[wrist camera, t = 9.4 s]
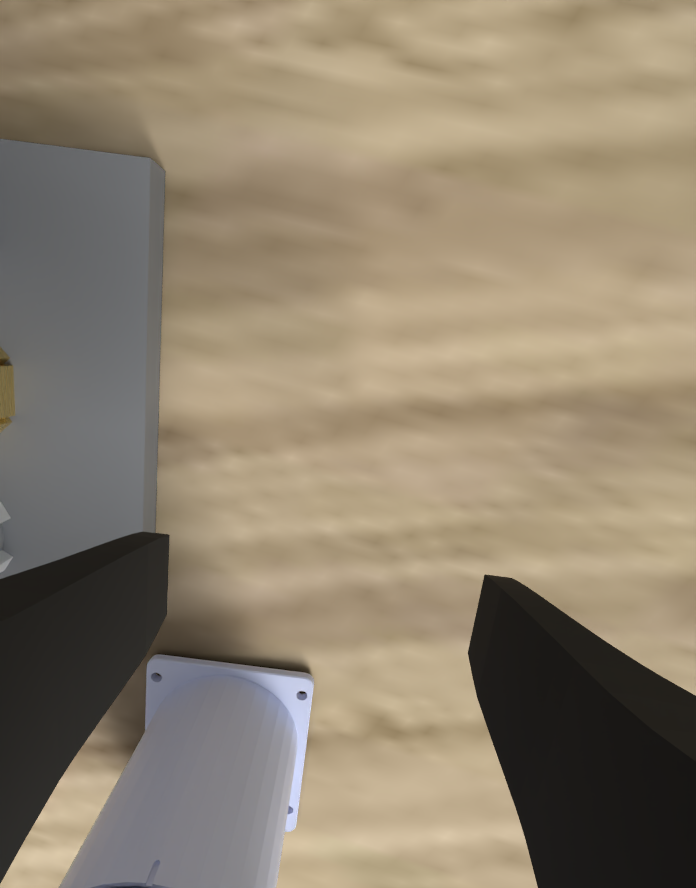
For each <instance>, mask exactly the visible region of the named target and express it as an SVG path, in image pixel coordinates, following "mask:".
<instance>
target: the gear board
mask: <svg viewBox="0 0 696 888" xmlns="http://www.w3.org/2000/svg"><path fill="white" fill-rule="evenodd" d="M164 198H165V171H164V170H163V169H162V168H161V167H160V166H159V165H158V164H157V163H156V162H154V161H153V160H152V159H151V158H147V157H139V156H131V155H123V154H115V153H108V152H100V151H92V150H84V149H77V148H69V147H61V146H53V145H45V144H38V143H30V142H22V141H14V140H7V139H0V347H1V348H2V350H3V351H4V352H5V353H6V354H7V355H8V356H9V357H10V359H8V360H7V361H6V362H5V363H4V364H6V365H13V371H14V398H15V416H10V417H9V418H10V419H11V421H12V423H11V424H10V425H8V426H7V427H6V428H5V429H4V430H3V431H2V432H0V579H2V578H5V577H8V576H11V575H14V574H17V573H20V572H23V571H26V570H29V569H32V568H35V567H38V566H41V565H44V564H47V563H50V562H53V561H56V560H59V559H62V558H65V557H67V556H70V555H73V554H76V553H78V552H81V551H84V550H87V549H90V548H92V547H95V546H98V545H101V544H103V543H106V542H109V541H112V540H115V539H118V538H121V537H124V536H127V535H130V534H134V533H138V532H151V533H155V528H156V491H157V455H158V418H159V381H160V345H161V308H162V271H163V234H164Z"/></svg>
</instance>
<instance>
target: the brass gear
mask: <svg viewBox="0 0 696 888" xmlns="http://www.w3.org/2000/svg"><path fill="white" fill-rule="evenodd" d="M8 359H10V357H9V356H8V355H7V354H6V353H5V352H4V351H3V350H2V348H1V347H0V432H2V431H3V430H4V429H5V428H6V427H7V426H8V425H10V424H11V423H12V421H11V419H10V418H9V417H10V416H15V398H14V371H13V365H6V364H4V363H5V362H6V361H7V360H8Z"/></svg>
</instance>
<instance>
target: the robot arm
mask: <svg viewBox="0 0 696 888" xmlns="http://www.w3.org/2000/svg"><path fill="white" fill-rule="evenodd" d="M168 560H169V535H167V534H159V533H151V532H138V533H134V534H130V535H127V536H124V537H121V538H118V539H115V540H112V541H109V542H106V543H103V544H101V545H98V546H95V547H92V548H90V549H87V550H84V551H81V552H78V553H76V554H73V555H70V556H67V557H65V558H62V559H59V560H56V561H53V562H50V563H47V564H44V565H41V566H38V567H35V568H32V569H29V570H26V571H23V572H20V573H17V574H14V575H11V576H8V577H5V578H2V579H0V883H1V881H2V880H3V878H4V876H5V874H6V872H7V871H8V869H9V867H10V865H11V863H12V862H13V860H14V858H15V856H16V854H17V853H18V851H19V849H20V847H21V845H22V844H23V842H24V840H25V838H26V837H27V835H28V833H29V832H30V830H31V828H32V826H33V825H34V823H35V821H36V820H37V818H38V816H39V814H40V813H41V811H42V809H43V808H44V806H45V804H46V802H47V801H48V799H49V797H50V795H51V794H52V792H53V790H54V789H55V787H56V785H57V783H58V782H59V780H60V779H61V777H62V776H63V774H64V772H65V771H66V769H67V768H68V766H69V765H70V763H71V762H72V760H73V759H74V757H75V756H76V754H77V753H78V751H79V750H80V748H81V747H82V746H83V744H84V743H85V741H86V740H87V738H88V737H89V736H90V734H91V733H92V731H93V730H94V729H95V727H96V726H97V724H98V723H99V721H100V720H101V719H102V717H103V716H104V714H105V713H106V711H107V710H108V709H109V707H110V706H111V704H112V703H113V702H114V700H115V699H116V697H117V696H118V694H119V693H120V692H121V690H122V689H123V687H124V686H125V684H126V683H127V682H128V680H129V679H130V677H131V676H132V674H133V673H134V671H135V670H136V669H137V667H138V666H139V664H140V663H141V661H142V660H143V658H144V657H145V655H146V653H147V652H148V650H149V648H150V646H151V644H152V642H153V641H154V639H155V637H156V635H157V633H158V631H159V629H160V627H161V625H162V623H163V621H164V619H165V617H166V615H167V589H168ZM468 655H469V661H470V666H471V671H472V676H473V680H474V685H475V689H476V694H477V698H478V701H479V704H480V707H481V710H482V713H483V716H484V719H485V722H486V724H487V727H488V730H489V733H490V736H491V739H492V742H493V745H494V747H495V750H496V753H497V756H498V759H499V762H500V764H501V767H502V770H503V773H504V776H505V779H506V781H507V784H508V787H509V790H510V793H511V796H512V799H513V801H514V804H515V807H516V810H517V813H518V816H519V820H520V823H521V826H522V829H523V832H524V836H525V839H526V843H527V847H528V850H529V854H530V858H531V862H532V866H533V870H534V874H535V878H536V882H537V885H538V888H696V696H695V695H693V694H692V693H690V692H688V691H686V690H684V689H683V688H681V687H679V686H677V685H675V684H674V683H672V682H670V681H668V680H667V679H665V678H663V677H661V676H660V675H658V674H656V673H655V672H653V671H651V670H650V669H648V668H646V667H645V666H643V665H641V664H640V663H638V662H637V661H635V660H634V659H632V658H630V657H629V656H627V655H626V654H624V653H623V652H621V651H619V650H618V649H616V648H615V647H613V646H612V645H610V644H609V643H607V642H606V641H604V640H603V639H601V638H600V637H598V636H597V635H595V634H594V633H592V632H591V631H589V630H588V629H586V628H585V627H584V626H582V625H581V624H579V623H578V622H576V621H575V620H574V619H572V618H571V617H569V616H568V615H566V614H565V613H564V612H562V611H561V610H559V609H558V608H557V607H555V606H554V605H552V604H551V603H549V602H548V601H547V600H545V599H544V598H542V597H541V596H540V595H538V594H537V593H535V592H534V591H532V590H531V589H529V588H528V587H526V586H525V585H523V584H521V583H520V582H518V581H516V580H514V579H512V578H507V577H499V576H492V575H485V576H484V580H483V585H482V590H481V594H480V599H479V604H478V608H477V613H476V618H475V622H474V627H473V632H472V636H471V641H470V646H469V650H468ZM156 673H159V674H160V675H161V676H158V675H157V674H156ZM313 687H314V679H313V677H312V676H311V675H310V674H308V673H304V672H296V671H289V670H281V669H273V668H265V667H257V666H249V665H241V664H233V663H225V662H217V661H209V660H201V659H193V658H185V657H177V656H169V655H161V654H158V655H154V656H152V658H151V659H150V660H149V662H148V663H147V671H146V713H145V733H144V734H143V736H142V738H141V740H140V742H139V743H138V745H137V747H136V749H135V751H134V752H133V754H132V756H131V758H130V760H129V761H128V763H127V765H126V767H125V769H124V770H123V772H122V774H121V776H120V778H119V779H118V781H117V783H116V785H115V787H114V789H113V790H112V792H111V794H110V796H109V798H108V799H107V801H106V803H105V805H104V807H103V808H102V810H101V812H100V814H99V816H98V817H97V819H96V821H95V823H94V825H93V826H92V828H91V830H90V832H89V834H88V835H87V837H86V839H85V841H84V843H83V845H82V846H81V848H80V850H79V852H78V854H77V855H76V857H75V859H74V861H73V863H72V864H71V866H70V868H69V870H68V872H67V873H66V875H65V877H64V879H63V881H62V882H61V884H60V886H59V888H276V886H277V879H278V873H279V866H280V859H281V853H282V846H283V840H284V833H285V832H289V831H292V830H293V829H295V827H296V823H297V815H298V807H299V799H300V791H301V783H302V775H303V767H304V759H305V751H306V743H307V735H308V727H309V719H310V711H311V703H312V695H313ZM299 691H304V692H306V693H305V694H301V693H299Z"/></svg>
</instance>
